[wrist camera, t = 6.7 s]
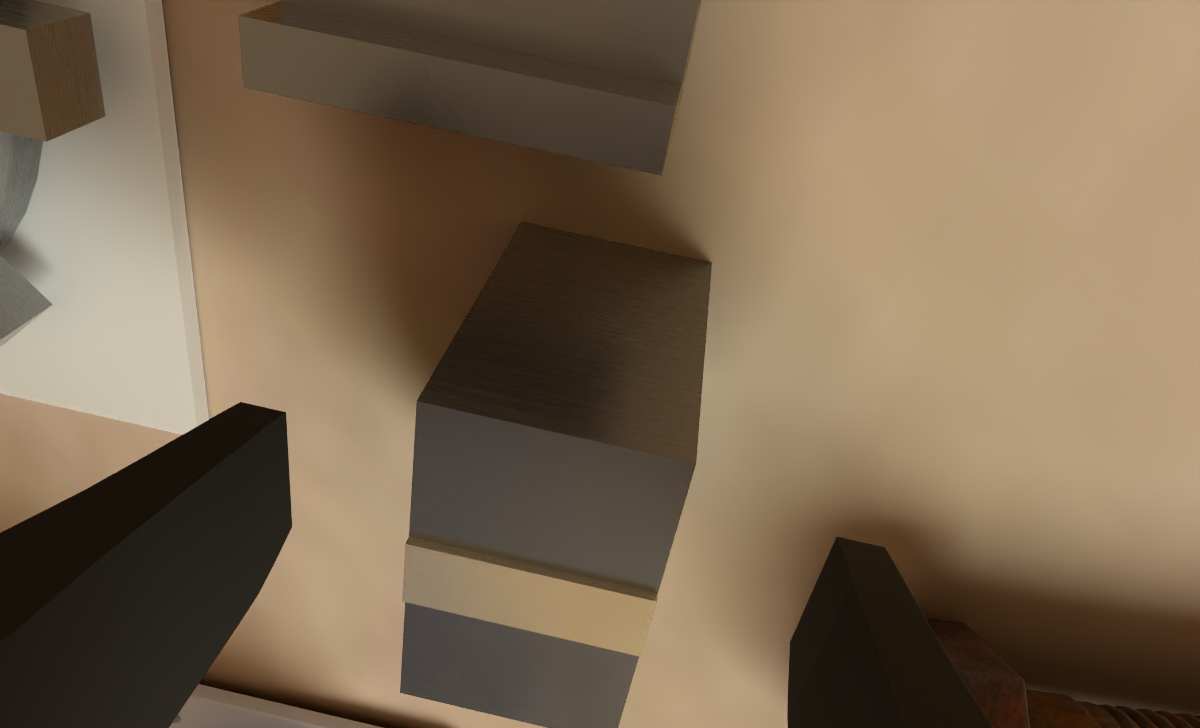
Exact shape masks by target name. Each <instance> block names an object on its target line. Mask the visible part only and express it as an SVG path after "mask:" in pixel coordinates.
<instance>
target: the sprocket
mask: <svg viewBox="0 0 1200 728" xmlns="http://www.w3.org/2000/svg"><path fill="white" fill-rule="evenodd" d="M103 117H105V109H104V102H103V96H102V89H101V82H100V76H99V69H98V62H97V55H96V49H95V42H94V35H93V28H92V22H91V15H90V13H89V12H84V11H80V10H75V9H70V8H66V7H61V6H57V5H52V4H48V3H43V2H39V1H34V0H0V252H1V250H2V249H3V248H4V247H5V246H6V245H7V244H8V243H9V241H10V240H11V238H12V236H13V234H14V233H15V231H16V229H17V227H18V226H19V224H20V222H21V220H22V219H23V217H24V215H25V213H26V211H27V208H28V205H29V202H30V199H31V196H32V193H33V190H34V187H35V184H36V181H37V177H38V170H39V164H40V158H41V151H42V145H43V141H46V142H47V141H50V140H52V139H54V138H57V137H59V136H61V135H63V134H66V133H68V132H70V131H73V130H75V129H77V128H80V127H82V126H84V125H87V124H89V123H91V122H93V121H96V120H98V119H100V118H103ZM52 305H53V304H52V303H51V302H50V301H49V300H48V299H47V298H45V297H44V296H43V295H42V294H41V293H40V292H39V291H38V290H37V289H36V288H35V287H34V286H33V285H32V284H31V283H30V282H29V281H28V280H27V279H26V278H24V277H23V276H22V275H21V274H20V273H19V272H18V271H17V270H16V269H15V268H14V267H13V266H12V265H11V264H10V263H9V262H8V261H7V260H6V259H5V258H3V257H2V256H1V255H0V346H2V345H3V344H5V343H6V342H8V341H9V340H10V339H11V338H13V337H14V336H15V335H16V334H18V333H19V332H20V331H21V330H22V329H24V328H25V327H26V326H27V325H28V324H30V323H31V322H32V321H33V320H35V319H36V318H37V317H38V316H39V315H41V314H42V313H43V312H44V311H45V310H47V309H48V308H49V307H50V306H52Z"/></svg>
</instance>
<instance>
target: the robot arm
mask: <svg viewBox="0 0 1200 728" xmlns="http://www.w3.org/2000/svg"><path fill="white" fill-rule="evenodd" d="M291 528H292V517H291V498H290V480H289V461H288V443H287V424H286V412H282V411H278V410H273V409H269V408H264V407H260V406H255V405H251V404H247V403H242V402H240V403H238V404H236V405H235V406H233V407H231V408H229V409H227V410H225V411H223V412H222V413H220V414H218V415H216V416H215V417H213V418H211V419H209V420H208V421H206V422H204V423H202V424H201V425H199V426H197V427H195V428H194V429H192V430H190V431H188V432H187V433H185V434H183V435H182V436H180V437H178V438H176V439H175V440H173V441H171V442H169V443H168V444H166V445H164V446H162V447H161V448H159V449H157V450H156V451H154V452H152V453H150V454H149V455H147V456H145V457H143V458H141V459H140V460H138V461H136V462H134V463H132V464H131V465H129V466H127V467H125V468H123V469H122V470H120V471H118V472H116V473H115V474H113V475H111V476H109V477H107V478H106V479H104V480H102V481H100V482H98V483H97V484H95V485H93V486H91V487H89V488H88V489H86V490H84V491H82V492H80V493H78V494H76V495H74V496H72V497H70V498H68V499H66V500H64V501H62V502H60V503H58V504H56V505H55V506H53V507H51V508H49V509H47V510H45V511H43V512H41V513H39V514H37V515H35V516H33V517H31V518H29V519H27V520H25V521H23V522H21V523H19V524H17V525H15V526H13V527H11V528H9V529H7V530H5V531H3V532H1V533H0V728H383V727H379V726H374V725H370V724H366V723H362V722H358V721H353V720H349V719H345V718H341V717H336V716H332V715H328V714H324V713H320V712H315V711H311V710H307V709H303V708H298V707H294V706H290V705H286V704H281V703H277V702H273V701H269V700H265V699H260V698H256V697H252V696H248V695H243V694H239V693H235V692H231V691H227V690H222V689H218V688H214V687H210V686H205V685H201V684H199V683H200V681H201V680H202V678H203V677H204V675H205V674H206V672H207V671H208V669H209V668H210V666H211V665H212V663H213V662H214V660H215V659H216V657H217V656H218V654H219V653H220V651H221V650H222V649H223V647H224V646H225V644H226V643H227V641H228V640H229V638H230V636H231V635H232V633H233V632H234V630H235V629H236V627H237V626H238V624H239V623H240V621H241V620H242V618H243V617H244V615H245V614H246V612H247V611H248V609H249V608H250V606H251V605H252V603H253V602H254V600H255V599H256V597H257V595H258V594H259V592H260V590H261V588H262V586H263V584H264V582H265V580H266V578H267V576H268V574H269V573H270V571H271V569H272V567H273V565H274V563H275V561H276V559H277V557H278V555H279V553H280V550H281V548H282V546H283V544H284V542H285V540H286V538H287V536H288V534H289V532H290V530H291ZM787 719H788V728H992V726H991V725H990V723H989V722H988V720H987V719H986V717H985V716H984V714H983V712H982V711H981V709H980V708H979V706H978V704H977V703H976V701H975V699H974V698H973V696H972V695H971V693H970V691H969V690H968V688H967V687H966V685H965V683H964V682H963V680H962V679H961V677H960V675H959V674H958V672H957V671H956V669H955V667H954V666H953V664H952V662H951V661H950V659H949V657H948V656H947V654H946V652H945V651H944V649H943V647H942V646H941V644H940V642H939V641H938V639H937V637H936V635H935V634H934V632H933V630H932V629H931V627H930V625H929V623H928V622H927V620H926V618H925V616H924V615H923V613H922V611H921V609H920V608H919V606H918V604H917V602H916V601H915V599H914V597H913V595H912V594H911V592H910V590H909V588H908V587H907V585H906V583H905V581H904V580H903V578H902V576H901V574H900V573H899V571H898V569H897V567H896V566H895V564H894V562H893V561H892V559H891V557H890V555H889V554H888V552H887V550H886V549H885V548H884V547H880V546H876V545H871V544H867V543H862V542H858V541H853V540H849V539H845V538H840V537H836V540H835V542H834V544H833V546H832V549H831V551H830V553H829V555H828V558H827V560H826V562H825V564H824V567H823V569H822V571H821V574H820V576H819V578H818V580H817V583H816V585H815V587H814V589H813V592H812V594H811V596H810V598H809V601H808V603H807V605H806V607H805V610H804V612H803V614H802V616H801V619H800V621H799V623H798V625H797V628H796V630H795V632H794V634H793V637H792V639H791V641H790V659H789V681H788V718H787Z"/></svg>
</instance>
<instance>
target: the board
mask: <svg viewBox="0 0 1200 728" xmlns="http://www.w3.org/2000/svg"><path fill="white" fill-rule="evenodd" d="M34 1H39V2H43V3H48V4H52V5H57V6H61V7H66V8H70V9H75V10H80V11H84V12H89V13H90V15H91V22H92V28H93V35H94V42H95V49H96V55H97V62H98V69H99V76H100V82H101V89H102V96H103V102H104V109H105V117H103V118H100V119H98V120H96V121H93V122H91V123H89V124H87V125H84V126H82V127H80V128H77V129H75V130H73V131H70V132H68V133H66V134H63V135H61V136H59V137H57V138H54V139H52V140H50V141H47V142H46V141H43V145H42V151H41V158H40V164H39V170H38V177H37V181H36V184H35V187H34V190H33V193H32V196H31V199H30V202H29V205H28V208H27V211H26V213H25V215H24V217H23V219H22V220H21V222H20V224H19V226H18V227H17V229H16V231H15V233H14V234H13V236H12V238H11V240H10V241H9V243H8V244H7V245H6V246H5V247H4V248H3V249H2V250H1V252H0V255H1V256H2V257H3V258H5V259H6V260H7V261H8V262H9V263H10V264H11V265H12V266H13V267H14V268H15V269H16V270H17V271H18V272H19V273H20V274H21V275H22V276H23V277H24V278H26V279H27V280H28V281H29V282H30V283H31V284H32V285H33V286H34V287H35V288H36V289H37V290H38V291H39V292H40V293H41V294H42V295H43V296H44V297H45V298H47V299H48V300H49V301H50V302H51V303H52V304H53V305H52V306H50V307H49V308H48V309H47V310H45V311H44V312H43V313H42V314H41V315H39V316H38V317H37V318H36V319H35V320H33V321H32V322H31V323H30V324H28V325H27V326H26V327H25V328H24V329H22V330H21V331H20V332H19V333H18V334H16V335H15V336H14V337H13V338H11V339H10V340H9V341H8V342H6V343H5V344H3V345H2V346H0V394H5V395H9V396H13V397H18V398H22V399H27V400H31V401H35V402H40V403H44V404H49V405H53V406H58V407H62V408H66V409H71V410H75V411H80V412H84V413H88V414H93V415H97V416H102V417H106V418H111V419H115V420H119V421H124V422H128V423H133V424H137V425H142V426H146V427H150V428H155V429H159V430H164V431H168V432H172V433H177V434H181V435H183V434H185V433H187V432H188V431H190V430H192V429H194V428H195V427H197V426H199V425H201V424H202V423H204V422H206V421H208V420H209V415H208V406H207V397H206V388H205V379H204V370H203V362H202V353H201V344H200V335H199V326H198V317H197V308H196V300H195V291H194V282H193V273H192V264H191V255H190V246H189V238H188V229H187V220H186V211H185V202H184V193H183V184H182V176H181V167H180V158H179V149H178V140H177V131H176V123H175V114H174V105H173V96H172V87H171V78H170V69H169V61H168V52H167V43H166V34H165V25H164V16H163V7H162V0H34Z"/></svg>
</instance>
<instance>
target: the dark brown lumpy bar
mask: <svg viewBox="0 0 1200 728" xmlns="http://www.w3.org/2000/svg"><path fill="white" fill-rule="evenodd" d="M926 620H927V622H928V623H929V625H930V627H931V629H932V630H933V632H934V634H935V635H936V637H937V639H938V641H939V642H940V644H941V646H942V647H943V649H944V651H945V652H946V654H947V656H948V657H949V659H950V661H951V662H952V664H953V666H954V667H955V669H956V671H957V672H958V674H959V675H960V677H961V679H962V680H963V682H964V683H965V685H966V687H967V688H968V690H969V691H970V693H971V695H972V696H973V698H974V699H975V701H976V703H977V704H978V706H979V708H980V709H981V711H982V712H983V714H984V716H985V717H986V719H987V720H988V722H989V723H990V725H991V726H992V728H1200V716H1192V715H1190V714H1185V713H1184V714H1172V713H1169V712H1166V711H1152V710H1149V709H1132V708H1129V707H1124V706H1115V707H1113V706H1110V705H1095V704H1092V703H1089V702H1080V701H1076V700H1074V699H1073V698H1072V697H1069V696H1066V695H1063V694H1055V693H1047V692H1038V691H1030V690H1025V681H1024V679H1023V678H1022V677H1021V676H1020V675H1019V674H1018V673H1017V672H1016V671H1015V670H1014V669H1013V668H1012V667H1010V666H1009V665H1008V664H1007V663H1006V662H1005V661H1004V660H1003V659H1002V658H1001V657H1000V656H999V655H998V654H997V653H996V652H995V651H994V650H992V649H991V648H990V647H989V646H988V645H987V644H986V643H985V642H984V641H983V640H982V639H981V638H980V637H979V636H978V635H977V634H975V633H974V632H973V631H972V630H971V629H970V628H969V627H968V626H967V625H966V624H965V623H957V622H948V621H940V620H932V619H926Z"/></svg>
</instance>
